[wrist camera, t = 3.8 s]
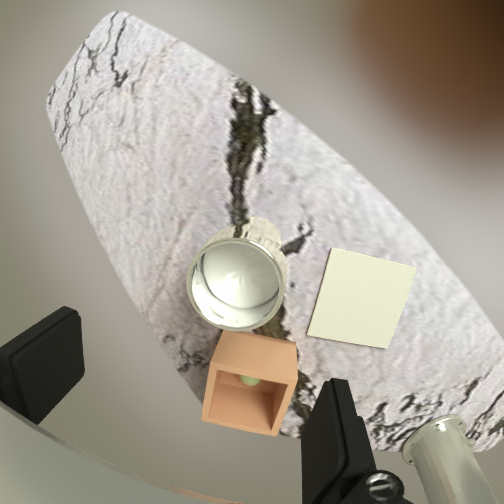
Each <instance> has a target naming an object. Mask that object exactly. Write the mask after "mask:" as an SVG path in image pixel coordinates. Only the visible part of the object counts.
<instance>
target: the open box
mask: <svg viewBox="0 0 504 504" xmlns="http://www.w3.org/2000/svg"><path fill="white" fill-rule="evenodd" d="M239 375H244V376H248V377H253V378H258V379H262V380H261V382H260V383H258V384H257V385H254V386H248V385H246V384H244V383H243V382H242V381H241V380H240V378H239ZM297 381H298V372H297V354H296V342H291V341H286V340H282V339H277V338H272V337H267V336H263V335H258V334H253V333H249V332H245V331H241V332H235V331H227V330H223V332H222V334H221V337H220V339H219V342H218V344H217V346H216V349H215V351H214V354H213V356H212V359H211V361H210V367H209V373H208V379H207V385H206V391H205V397H204V403H203V409H202V415H201V420H202V421H206V422H210V423H214V424H218V425H222V426H226V427H231V428H235V429H240V430H244V431H249V432H255V433H260V434H265V435H271V436H277V433H278V431H279V428H280V426H281V423H282V421H283V418H284V416H285V413H286V411H287V408H288V405H289V403H290V400H291V397H292V395H293V392H294V389H295V387H296V384H297Z"/></svg>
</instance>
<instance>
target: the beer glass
mask: <svg viewBox="0 0 504 504" xmlns="http://www.w3.org/2000/svg"><path fill="white" fill-rule="evenodd" d="M286 280H287V263H286V257H285V253H284V251H283V248H282V239H281V235H280V233H279V231H278V229H277V228H276V226H275V225H274V224H273V223H272V222H270V221H269V220H267V219H265V218H262V217H257V216H251V217H246V218H244V219H241V220H240V221H238V222H237V223H236V224H235V225H231V226H228V227H226V228H224V229H222V230H221V231H219V232H217V233H216V234H214V235H213V236H212V237H211V238H210V239H209V240H208V241H207V242H206V243H205V244H204V245H203V247H202V248H201V249H200V251H199V252H198V253H197V254H196V255H195V256H194V258H193V259H192V261H191V263H190V265H189V268H188V271H187V277H186V288H187V293H188V297H189V299H190V302H191V304H192V305H193V307H194V309H195V310H196V311H197V313H198V314H199V315H200V316H201V317H202V318H203V319H204V320H206V321H207V322H208V323H210V324H212V325H213V326H215V327H218V328H220V329H223V330H227V331H235V332H241V331H248V330H252V329H255V328H258V327H260V326H262V325H263V324H265V323H266V322H268V321H269V320H270V319H271V318H272V317H273V316H274V315H275V314H276V312H277V311H278V309H279V307H280V305H281V303H282V300H283V296H284V290H285V285H286Z"/></svg>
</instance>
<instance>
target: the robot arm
mask: <svg viewBox="0 0 504 504" xmlns="http://www.w3.org/2000/svg"><path fill="white" fill-rule="evenodd" d="M84 372H85V368H84V358H83V346H82V331H81V317H80V316H79V315H78V312H77V311H76V310H74V309H71V308H69V307H66V306H63V307H61V308H60V309H58V310H56V311H55V312H53V313H52V314H50V315H49V316H47V317H46V318H44V319H42V320H41V321H40V322H38V323H36V324H35V325H33V326H32V327H30V328H29V329H27V330H26V331H24V332H23V333H21V334H20V335H18V336H17V337H15V338H14V339H12V340H11V341H9V342H8V343H6V344H5V345H3V346H2V347H0V504H245V503H240V502H235V501H229V500H225V499H220V498H215V497H211V496H207V495H203V494H199V493H195V492H191V491H188V490H184V489H181V488H177V487H174V486H170V485H168V484H164V483H161V482H158V481H155V480H152V479H149V478H147V477H144V476H141V475H138V474H136V473H133V472H131V471H128V470H125V469H123V468H120V467H118V466H116V465H113V464H111V463H109V462H106V461H104V460H102V459H100V458H97V457H95V456H93V455H91V454H89V453H87V452H85V451H83V450H80V449H79V448H77V447H75V446H73V445H71V444H69V443H67V442H66V441H64V440H62V439H60V438H58V437H56V436H54V435H53V434H51V433H49V432H48V431H46V430H44V429H43V428H41V427H39V426H38V424H39V423H40V422H41V421H42V420H43V419H44V418H45V417H46V416H47V415H48V414H49V413H50V411H51V410H52V409H53V408H54V407H55V406H56V405H57V404H58V403H59V402H60V401H61V400H62V399H63V398H64V396H65V395H66V394H67V393H68V392H69V391H70V390H71V389H72V388H73V387H74V386H75V385H76V384H77V383H78V382H79V381H80V380H81V378H82V377H83V375H84ZM465 429H466V424H465V422H464V420H463V419H462V418H461V417H460V416H457V415H447V416H442V417H439V418H437V419H434V420H432V421H430V422H428V423H427V424H425V425H423V426H422V427H421V428H419V429H418V430H417V431H416V432H414V433H413V434H412V435H411V436H410V437H409V439H408V440H407V441H406V443H405V445H404V446H403V449H402V456H403V459H404V461H405V462H406V463H407V464H410V465H415V466H416V469H417V472H418V475H419V478H420V480H421V483H422V486H423V489H424V492H425V495H426V498H427V501H428V504H498V502H497V500H496V498H495V497H494V495H493V493H492V491H491V489H490V487H489V485H488V483H487V481H486V479H485V477H484V475H483V473H482V471H481V469H480V467H479V465H478V464H477V462H476V460H475V458H474V456H473V454H472V452H473V447H472V446H471V445H474V444H475V439H468V440H467V438H466V436H465V435H464V433H465ZM301 455H302V504H413V503H411V502H410V501H408V500H406V499H404V498H403V495H404V485H403V483H402V481H401V480H400V478H399V477H398V476H396V475H395V474H393V473H391V472H389V471H385V470H377V469H376V465H375V461H374V457H373V453H372V449H371V445H370V442H369V438H368V434H367V431H366V427H365V423H364V420H363V418H362V417H361V416H357V413H356V409H355V405H354V402H353V398H352V394H351V391H350V387H349V383H348V381H347V380H344V379H337V378H331V379H330V381H325V382H324V384H323V386H322V389H321V391H320V394H319V396H318V398H317V401H316V403H315V405H314V407H313V410H312V412H311V414H310V416H309V419H308V421H307V423H306V425H305V427H304V430H303V432H302V436H301Z"/></svg>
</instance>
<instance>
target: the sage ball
mask: <svg viewBox="0 0 504 504" xmlns="http://www.w3.org/2000/svg"><path fill="white" fill-rule="evenodd" d="M239 378H240V380H241V381H242V382H243V383H244V384H246V385H248V386H254V385H257V384H258V383H260V382H261V380H262V379H258V378H253V377H248V376H244V375H239Z"/></svg>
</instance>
